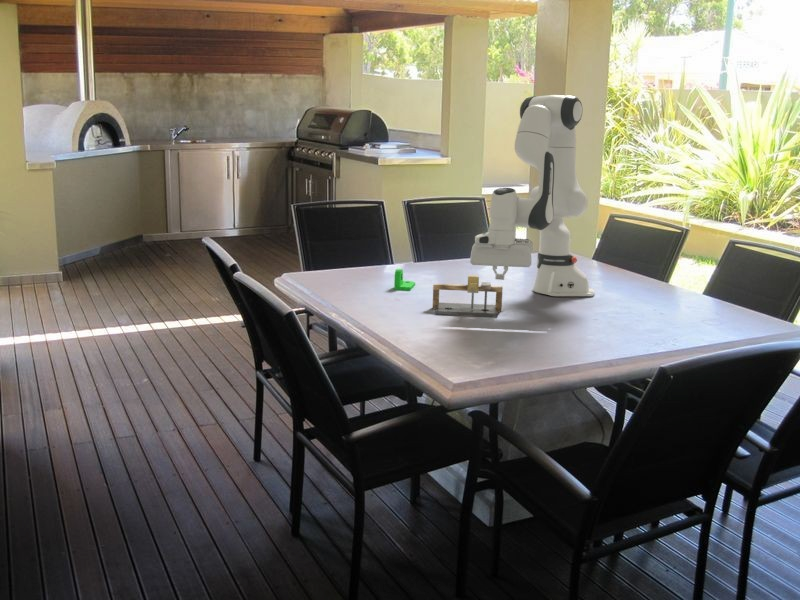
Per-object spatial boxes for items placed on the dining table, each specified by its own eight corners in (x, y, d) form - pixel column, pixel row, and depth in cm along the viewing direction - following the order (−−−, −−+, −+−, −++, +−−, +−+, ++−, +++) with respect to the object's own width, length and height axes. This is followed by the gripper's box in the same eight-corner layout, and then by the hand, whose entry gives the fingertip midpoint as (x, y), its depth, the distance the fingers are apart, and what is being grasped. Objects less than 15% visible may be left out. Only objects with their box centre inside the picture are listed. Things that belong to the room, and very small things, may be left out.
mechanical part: (410, 292, 310) (410, 271, 308) (394, 291, 311) (394, 270, 309) (416, 286, 321) (417, 265, 320) (401, 285, 322) (401, 265, 321)
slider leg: (477, 304, 285) (478, 275, 283) (477, 309, 278) (478, 279, 276) (466, 303, 285) (468, 274, 283) (466, 308, 278) (467, 278, 276)
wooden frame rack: (501, 310, 284) (502, 282, 282) (501, 314, 277) (503, 286, 275) (432, 307, 286) (433, 280, 284) (431, 311, 279) (432, 283, 277)
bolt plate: (496, 308, 286) (496, 304, 286) (497, 317, 274) (497, 313, 273) (437, 305, 288) (437, 302, 288) (435, 314, 275) (435, 310, 275)
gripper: (533, 237, 280) (530, 278, 283) (471, 235, 281) (469, 276, 284) (534, 240, 274) (531, 282, 277) (471, 238, 275) (469, 279, 278)
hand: (499, 279), depth 280 cm, fingers closed
